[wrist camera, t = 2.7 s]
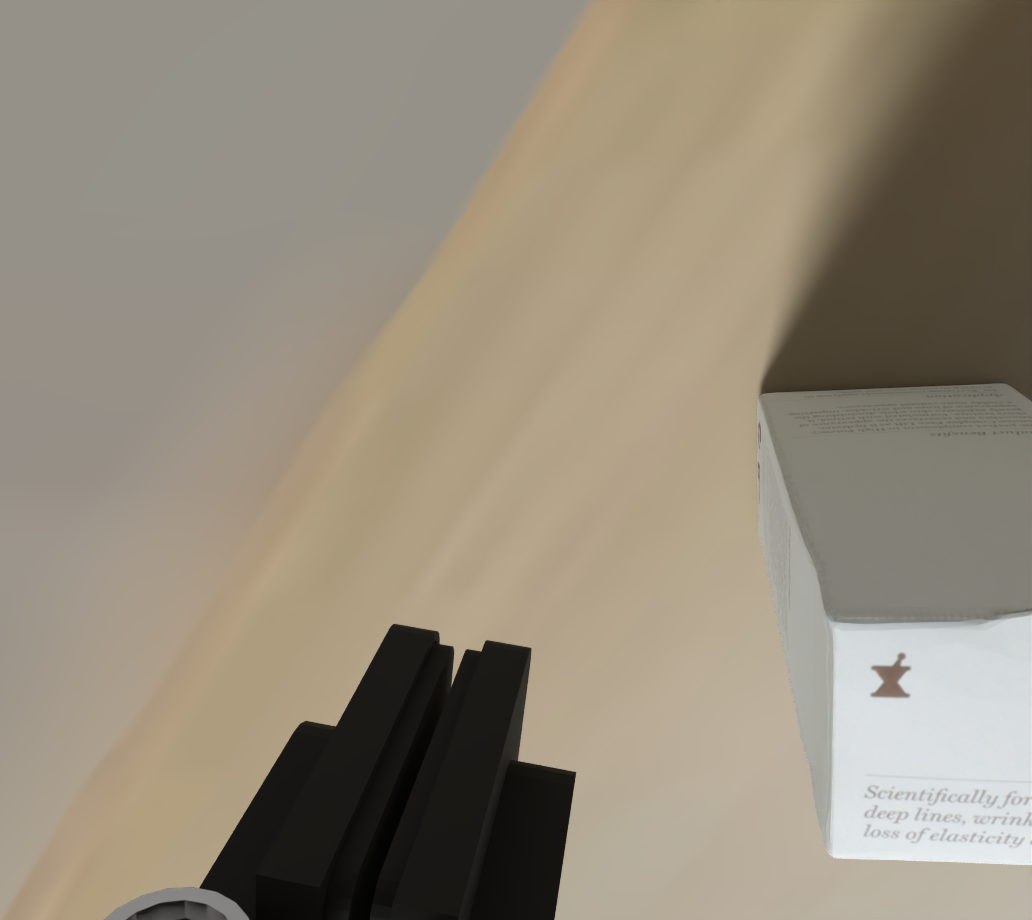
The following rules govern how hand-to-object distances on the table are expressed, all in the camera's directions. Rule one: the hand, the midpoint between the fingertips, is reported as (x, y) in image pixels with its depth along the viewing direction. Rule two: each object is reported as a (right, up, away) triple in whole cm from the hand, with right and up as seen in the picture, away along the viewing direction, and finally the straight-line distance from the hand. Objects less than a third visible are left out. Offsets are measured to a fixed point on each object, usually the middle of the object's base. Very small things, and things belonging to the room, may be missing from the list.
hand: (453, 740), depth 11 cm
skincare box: (+10, +3, +13) cm, 17 cm away
